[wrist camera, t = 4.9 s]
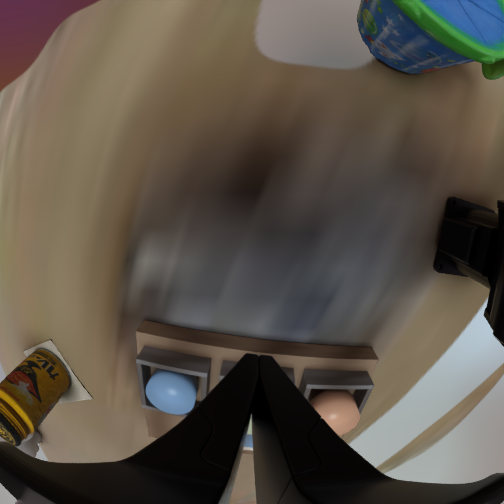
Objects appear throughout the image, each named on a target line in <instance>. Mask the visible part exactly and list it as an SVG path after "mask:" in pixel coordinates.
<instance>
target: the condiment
mask: <svg viewBox="0 0 504 504" xmlns="http://www.w3.org/2000/svg"><path fill="white" fill-rule="evenodd" d="M23 352H24V354H25V355H26V357H27V358H26V359H25V360H24V361H23V362H22V363H21V364H20V365H18V366H17V367H16V368H15V369H14V370H13V371H12V372H11V373H10V374H9V375H8V376H7V377H6V378H5V379H4V380H3V381H2V382H1V383H0V437H1V438H3V439H4V440H5V441H6V442H8V443H10V444H12V445H14V446H19V445H21V442H22V441H23V440H24V439H25V438H27V436H28V435H29V434H32V433H34V432H35V431H36V429H37V428H38V427H39V425H40V424H41V423H42V421H43V420H44V419H45V417H46V416H47V415H48V413H49V412H50V411H51V409H52V408H53V407H54V406H55V404H56V403H57V402H59V403H60V404H64V403H69V402H75V401H82V400H89V399H93V398H92V397H91V396H90V395H89V394H88V392H87V391H86V389H85V388H84V387H83V386H82V385H81V383H80V382H79V381H78V379H77V378H76V376H75V375H74V373H73V372H72V370H71V369H70V367H69V366H68V364H67V363H66V362H65V360H64V359H63V357H62V356H61V354H60V352H59V351H58V350H57V348H56V347H55V345H54V344H53V342H52V341H51V340H49V341H46V342H44V343H41V344H39V345H37V346H34V347H32V348H30V349H28V350H25V351H23ZM72 384H73V386H72ZM73 387H74V388H73Z"/></svg>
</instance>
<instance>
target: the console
mask: <svg viewBox="0 0 504 504" xmlns="http://www.w3.org/2000/svg"><path fill="white" fill-rule="evenodd" d="M136 338H137V351H138V356H137V358H136V365H137V373H138V382H139V389H140V396H141V403H142V408H144V409H145V415H146V421H147V427H148V432H149V436H151V437H155V438H159V437H161V436H162V435H164V434H165V433H167V432H168V431H169V430H170V429H172V428H173V427H174V426H176V425H177V424H178V423H179V422H181V421H182V420H183V419H184V418H185V417H186V416H187V415H188V414H189V413H190V412H191V411H192V410H193V409H194V408H195V407H197V405H198V404H199V403H200V402H201V401H202V400H203V399H204V398H205V397H206V396H207V395H208V394H209V393H210V391H211V390H212V389H213V388H214V387H215V386H216V385H217V384H218V383H219V382H220V381H221V380H222V379H223V378H224V376H225V375H226V374H227V373H228V372H229V371H230V370H231V369H232V368H233V367H234V365H235V364H236V363H237V362H238V361H239V360H240V359H241V358H242V357H243V355H244V354H245V353H251V354H257V355H258V356H259V355H269V356H272V357H273V358H274V359H275V360H276V362H277V363H278V364H279V365H280V367H281V368H282V369H283V370H284V372H285V373H286V374H287V375H288V377H289V378H290V379H291V380H292V382H293V383H294V384H295V385H296V387H297V388H298V389H299V390H300V391H301V393H302V394H303V395H304V396H305V398H306V399H307V400H308V401H309V402H310V401H311V400H312V399H313V398H314V397H315V396H317V395H318V394H320V393H322V392H325V391H328V390H332V389H343V390H346V391H349V392H350V393H351V394H352V395H353V397H354V400H355V402H356V405H357V408H358V411H359V413H360V414H361V412H362V410H363V408H364V406H365V404H366V402H367V400H368V397H369V395H370V393H371V391H372V389H373V387H374V384H373V382H372V380H371V378H372V375H373V373H374V370H375V368H376V366H377V363H378V361H379V359H378V357H377V356H376V354H375V352H374V350H373V349H372V347H350V346H332V345H317V344H304V343H293V342H283V341H273V340H264V339H256V338H248V337H240V336H233V335H226V334H219V333H212V332H206V331H200V330H194V329H188V328H182V327H177V326H171V325H166V324H161V323H156V322H151V321H146V320H144V322H143V323H142V324H141V326H140V327H139V328H138V329H137V331H136ZM156 368H160V369H165V370H170V371H174V372H179V373H185V374H190V375H195V377H196V378H197V380H198V383H199V390H198V393H197V397H196V400H195V404H194V407H193V409H192V410H191V411H190V412H188V413H185V414H180V415H176V414H170V413H166V412H164V411H162V410H160V409H158V408H157V407H155V406H154V405H153V404H152V403H151V402H150V401H149V399H148V397H147V395H146V386H147V384H148V382H149V380H150V378H151V376H152V374H153V372H154V371H155V369H156ZM343 435H344V434H343ZM343 435H340V436H339V437H340V438H342V437H343ZM242 453H245V454H253V440H252V435H251V434H247V436H246V440H245V444H244V448H243V452H242Z"/></svg>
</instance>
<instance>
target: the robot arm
mask: <svg viewBox="0 0 504 504" xmlns="http://www.w3.org/2000/svg"><path fill="white" fill-rule="evenodd" d="M452 201H453V205H452ZM497 208H498V214H496V213H495V212H494V211H493V210H490V209H487V208H485V207H482V206H479V205H476V204H473V203H471V202H468V201H465V200H462V199H459V198H456V197H449V198H448V201H447V206H446V212H445V218H444V222H443V227H442V232H441V237H440V242H439V246H438V251H437V255H436V259H435V263H434V269H435V271H437V272H439V273H445V274H452V275H459V276H466V277H470V278H472V279H474V280H475V281H477V282H479V283H481V284H482V285H484V286H486V287H487V288H489V289H490V293H489V298H488V303H487V308H486V309H485V312H484V317H485V318H486V320H487V321H488V323H489V324H490V326H491V328H492V329H493V335H494V336H495V338H497V340H498V341H499V342H500V343H501V344H502V345H503V346H504V200H497ZM439 265H440V268H438V267H439ZM251 415H252V417H251ZM250 419H251V422H252V440H253V456H254V471H255V486H256V501H257V504H501V503H502V502H503V501H504V473H496V474H493V475H491V476H489V477H487V478H485V479H483V480H480V481H477V482H473V483H466V484H437V483H422V482H411V481H403V480H397V479H393V478H391V477H388V476H386V475H385V474H383V473H381V472H380V471H379V470H377V469H376V468H375V467H374V466H373V465H371V464H370V463H369V462H368V461H366V460H365V459H364V458H363V457H362V456H361V455H359V454H358V453H357V452H356V451H355V450H353V449H352V448H351V447H350V446H349V445H348V444H347V443H346V442H345V441H344V440H343V439H342V438H340V437H339V436H338V435H337V433H336V432H335V431H334V430H333V429H332V428H331V427H330V426H329V425H328V424H327V422H326V421H325V420H324V419H323V418H322V417H321V415H320V414H319V413H318V412H317V411H316V410H315V408H314V407H313V406H312V405H311V404H310V402H309V401H308V400H307V399H306V398H305V396H304V395H303V394H302V393H301V391H300V390H299V389H298V388H297V387H296V385H295V384H294V383H293V382H292V380H291V379H290V378H289V377H288V375H287V374H286V373H285V372H284V370H283V369H282V368H281V367H280V365H279V364H278V363H277V362H276V360H275V359H274V358H273V357H272V356H269V355H259V356H258V355H257V354H251V353H245V354H244V355H243V357H242V358H241V359H240V360H239V361H238V362H237V363H236V364H235V365H234V367H233V368H232V369H231V370H230V371H229V372H228V373H227V374H226V375H225V376H224V378H223V379H222V380H221V381H220V382H219V383H218V384H217V385H216V386H215V387H214V388H213V389H212V390H211V391H210V393H209V394H208V395H207V396H206V397H205V398H204V399H203V400H202V401H201V402H200V403H199V404H198V405H197V407H195V408H194V409H193V410H192V411H191V412H190V413H189V414H188V415H187V416H186V417H185V418H184V419H183V420H182V421H181V422H179V423H178V424H177V425H176V426H174V427H173V428H172V429H170V430H169V431H168V432H167V433H165V434H164V435H162V436H161V437H159V438H158V439H157V440H155V441H154V442H152V443H151V444H149V445H148V446H146V447H145V448H143V449H142V450H140V451H139V452H137V453H136V454H134V455H132V456H130V457H128V458H126V459H123V460H120V461H116V462H101V463H55V462H48V461H43V460H40V459H37V458H34V457H32V456H30V455H28V454H26V453H25V452H23V451H21V450H20V449H18V448H17V447H15V446H14V445H12V444H10V443H8V442H5V441H0V483H1V484H2V485H3V486H4V487H5V488H6V489H7V490H8V491H9V492H10V493H11V494H12V495H13V496H14V497H15V498H16V499H17V502H16V503H15V504H228V503H229V500H230V496H231V493H232V489H233V485H234V482H235V478H236V475H237V471H238V467H239V463H240V460H241V456H242V452H243V448H244V444H245V440H246V436H247V432H248V428H249V424H250Z"/></svg>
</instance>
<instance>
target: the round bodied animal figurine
mask: <svg viewBox="0 0 504 504" xmlns="http://www.w3.org/2000/svg"><path fill="white" fill-rule="evenodd" d="M41 440H42V437H41V435H40V433H39V432H38V431H37V430H36V431H35V432H34V433H32V434H29V435H28V436H27V438H25V439H24V440H23V441H22V442H21V445H19V446H15V447H17V448H18V449H20V450H21V451H23V452H25V453H26V454H28V455H30V456H32V457H34V458H35V456H36V453H37V452H38V450H39V446H38V445H37V444H38V443H39V442H40V441H41ZM0 441H5V440H4V439H3V438H1V437H0ZM5 442H6V441H5Z"/></svg>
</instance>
